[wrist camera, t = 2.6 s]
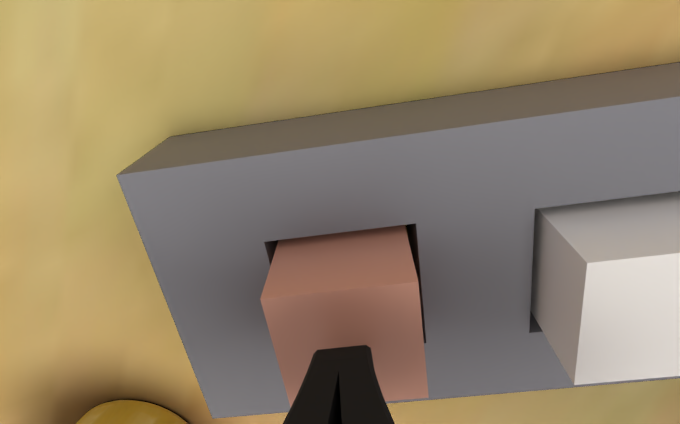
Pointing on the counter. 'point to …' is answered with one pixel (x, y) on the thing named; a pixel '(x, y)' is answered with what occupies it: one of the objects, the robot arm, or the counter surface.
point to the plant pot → (130, 414)
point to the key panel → (398, 218)
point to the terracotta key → (348, 306)
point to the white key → (610, 286)
